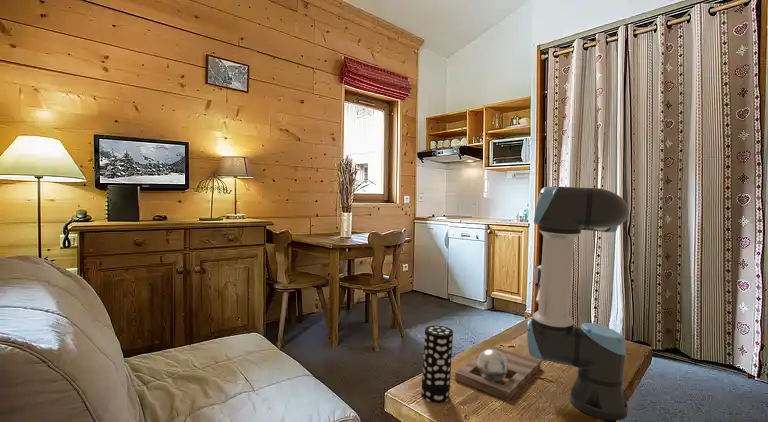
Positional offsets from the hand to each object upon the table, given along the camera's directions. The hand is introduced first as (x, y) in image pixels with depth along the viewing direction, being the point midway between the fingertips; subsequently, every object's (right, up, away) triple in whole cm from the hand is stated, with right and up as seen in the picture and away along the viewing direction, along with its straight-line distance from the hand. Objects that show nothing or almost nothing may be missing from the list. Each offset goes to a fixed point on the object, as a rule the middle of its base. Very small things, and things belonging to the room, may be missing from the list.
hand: (539, 302), depth 137 cm
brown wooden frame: (-16, -23, -6) cm, 29 cm away
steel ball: (-20, -18, -11) cm, 29 cm away
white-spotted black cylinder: (-41, -23, -23) cm, 52 cm away
